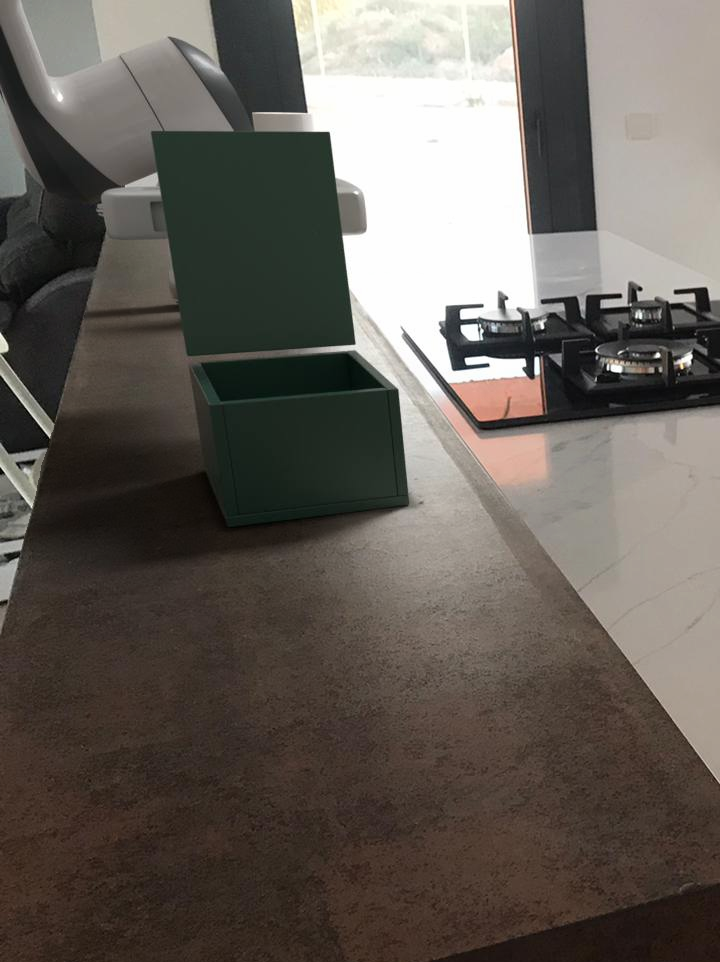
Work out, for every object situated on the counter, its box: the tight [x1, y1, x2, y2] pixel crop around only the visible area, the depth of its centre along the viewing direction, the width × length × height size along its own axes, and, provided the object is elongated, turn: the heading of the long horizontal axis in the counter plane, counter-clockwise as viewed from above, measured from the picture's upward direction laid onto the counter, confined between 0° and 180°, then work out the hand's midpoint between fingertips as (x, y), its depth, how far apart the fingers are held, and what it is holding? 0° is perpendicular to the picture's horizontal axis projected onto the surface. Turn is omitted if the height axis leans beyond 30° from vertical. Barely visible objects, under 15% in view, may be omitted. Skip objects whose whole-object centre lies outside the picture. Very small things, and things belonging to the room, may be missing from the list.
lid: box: [151, 130, 357, 357], centre depth 100 cm, size 16×13×1 cm
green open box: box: [187, 349, 410, 528], centre depth 97 cm, size 16×13×9 cm
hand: (249, 220), depth 101 cm, fingers closed
